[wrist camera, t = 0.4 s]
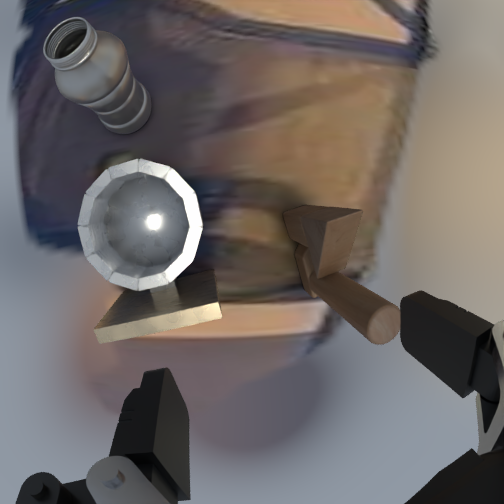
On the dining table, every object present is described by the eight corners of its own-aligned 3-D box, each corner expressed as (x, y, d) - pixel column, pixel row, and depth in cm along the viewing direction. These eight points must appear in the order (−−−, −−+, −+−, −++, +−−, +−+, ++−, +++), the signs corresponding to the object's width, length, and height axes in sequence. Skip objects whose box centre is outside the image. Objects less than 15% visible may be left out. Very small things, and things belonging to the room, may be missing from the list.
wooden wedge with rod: (307, 204, 37) (388, 211, 20) (327, 281, 39) (406, 336, 22) (280, 212, 37) (346, 226, 19) (303, 290, 39) (370, 355, 22)
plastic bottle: (108, 143, 32) (22, 97, 12) (104, 95, 30) (31, 21, 11) (157, 131, 33) (110, 62, 13) (152, 83, 31) (111, -11, 12)
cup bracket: (95, 184, 32) (49, 180, 21) (189, 157, 34) (181, 137, 22) (126, 302, 36) (97, 344, 24) (218, 280, 37) (224, 317, 25)
